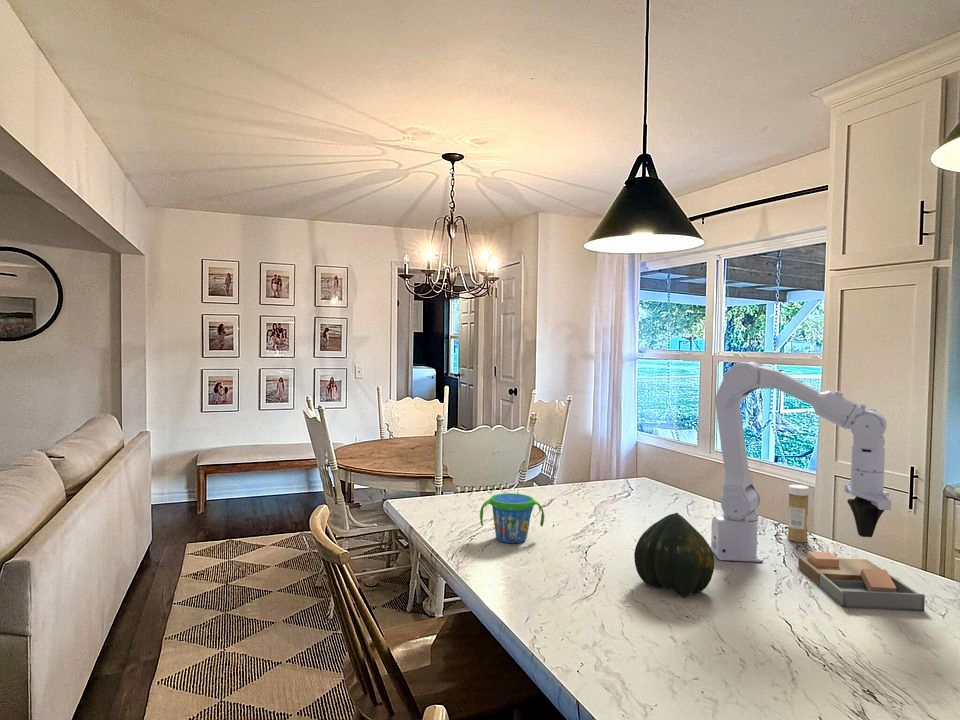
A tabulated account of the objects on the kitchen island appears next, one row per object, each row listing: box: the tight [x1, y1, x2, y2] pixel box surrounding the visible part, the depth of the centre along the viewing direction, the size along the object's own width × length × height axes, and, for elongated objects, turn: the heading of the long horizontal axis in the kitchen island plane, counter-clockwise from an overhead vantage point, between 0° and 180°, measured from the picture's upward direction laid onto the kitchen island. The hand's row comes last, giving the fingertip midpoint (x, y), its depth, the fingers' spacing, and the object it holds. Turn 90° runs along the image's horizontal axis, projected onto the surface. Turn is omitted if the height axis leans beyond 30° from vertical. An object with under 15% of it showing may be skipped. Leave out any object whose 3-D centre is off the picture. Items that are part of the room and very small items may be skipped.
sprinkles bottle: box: [787, 484, 810, 544], centre depth 155 cm, size 5×5×14 cm
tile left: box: [806, 550, 839, 567], centre depth 133 cm, size 4×4×2 cm
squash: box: [633, 512, 715, 598], centre depth 124 cm, size 14×15×15 cm
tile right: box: [860, 568, 897, 593], centre depth 123 cm, size 4×4×2 cm
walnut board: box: [798, 556, 893, 586], centre depth 131 cm, size 14×10×2 cm
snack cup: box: [479, 492, 545, 544], centre depth 153 cm, size 16×10×10 cm
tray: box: [819, 574, 926, 612], centre depth 120 cm, size 14×10×3 cm
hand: (865, 536), depth 129 cm, fingers closed
